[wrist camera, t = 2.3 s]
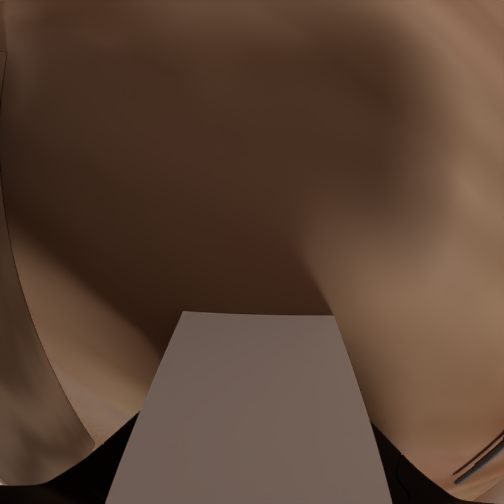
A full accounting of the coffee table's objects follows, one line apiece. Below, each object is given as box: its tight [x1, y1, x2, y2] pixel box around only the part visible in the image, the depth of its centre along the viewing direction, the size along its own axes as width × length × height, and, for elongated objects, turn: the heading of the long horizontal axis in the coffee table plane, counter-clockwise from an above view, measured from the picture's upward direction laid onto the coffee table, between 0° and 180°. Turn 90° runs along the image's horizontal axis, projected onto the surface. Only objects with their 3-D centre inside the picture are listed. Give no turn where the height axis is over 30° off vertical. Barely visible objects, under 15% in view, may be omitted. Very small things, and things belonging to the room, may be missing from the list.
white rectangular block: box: [105, 311, 392, 504], centre depth 7 cm, size 5×5×7 cm
